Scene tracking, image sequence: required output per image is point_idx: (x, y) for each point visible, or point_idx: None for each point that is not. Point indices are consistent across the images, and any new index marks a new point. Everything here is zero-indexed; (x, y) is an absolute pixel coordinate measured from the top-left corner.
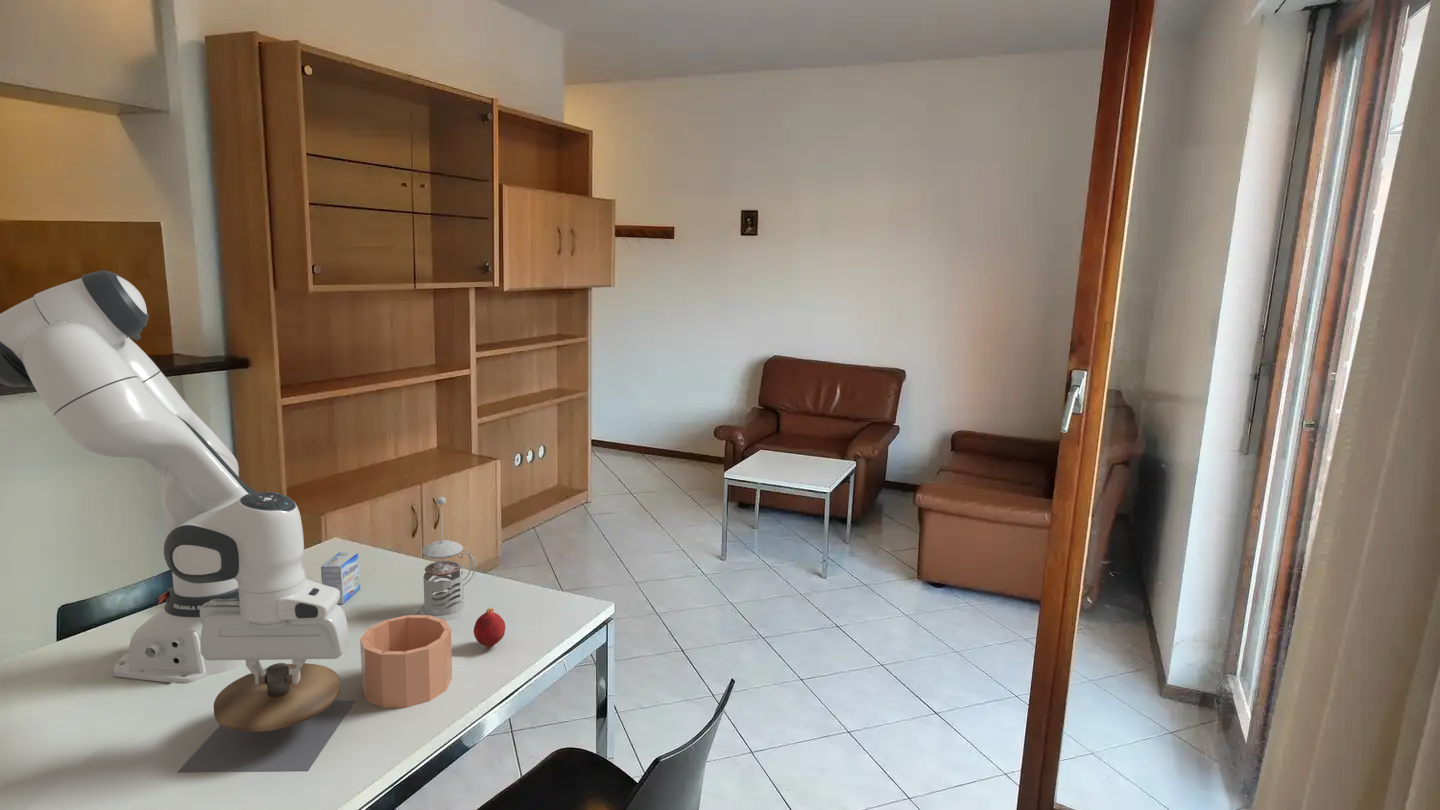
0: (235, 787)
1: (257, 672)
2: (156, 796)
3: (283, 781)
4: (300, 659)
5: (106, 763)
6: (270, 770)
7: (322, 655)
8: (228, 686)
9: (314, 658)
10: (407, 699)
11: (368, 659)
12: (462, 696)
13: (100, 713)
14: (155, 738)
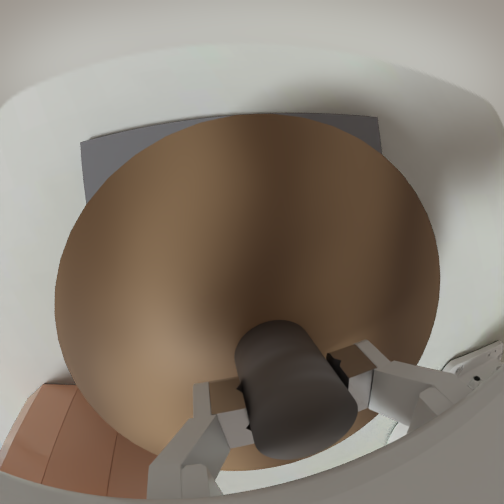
0: (227, 74)
1: (387, 374)
2: (364, 60)
3: (125, 107)
4: (155, 497)
5: (469, 164)
6: (169, 124)
7: (7, 492)
8: (428, 330)
9: (47, 489)
10: (34, 398)
11: (93, 485)
12: (7, 410)
13: (501, 276)
14: (451, 232)
